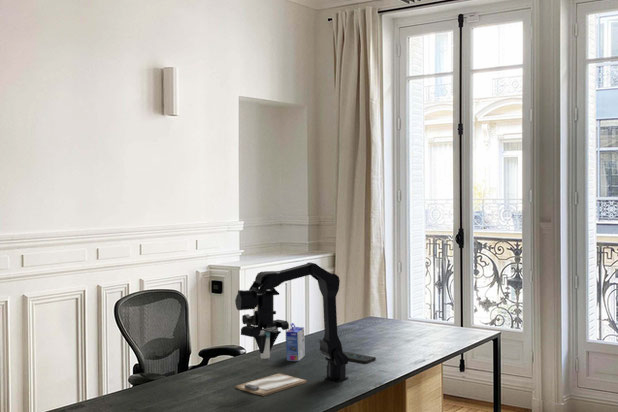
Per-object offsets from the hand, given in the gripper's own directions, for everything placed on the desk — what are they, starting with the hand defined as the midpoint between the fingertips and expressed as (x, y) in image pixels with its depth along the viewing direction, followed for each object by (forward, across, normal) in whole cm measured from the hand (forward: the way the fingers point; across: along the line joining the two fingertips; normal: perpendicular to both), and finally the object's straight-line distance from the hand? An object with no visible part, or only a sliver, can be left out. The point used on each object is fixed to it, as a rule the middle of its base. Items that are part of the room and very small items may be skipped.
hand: (265, 352), depth 243 cm
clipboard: (+13, -5, -2) cm, 14 cm away
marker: (+3, 0, 0) cm, 3 cm away
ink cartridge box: (+13, -39, -21) cm, 46 cm away
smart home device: (+14, -55, -4) cm, 57 cm away
